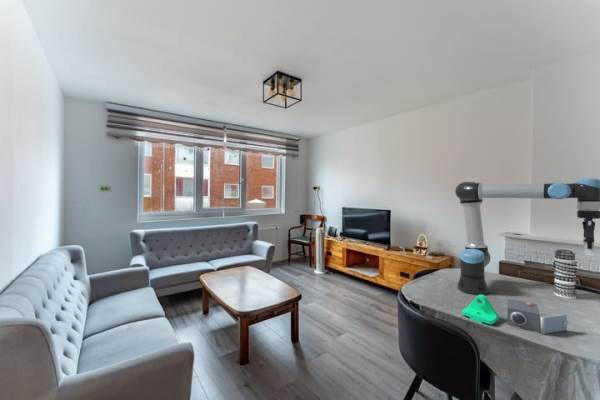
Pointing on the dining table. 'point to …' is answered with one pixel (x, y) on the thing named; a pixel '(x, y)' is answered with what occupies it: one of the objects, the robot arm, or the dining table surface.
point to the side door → (553, 323)
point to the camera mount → (481, 310)
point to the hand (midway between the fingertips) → (588, 253)
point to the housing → (523, 315)
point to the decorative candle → (565, 274)
